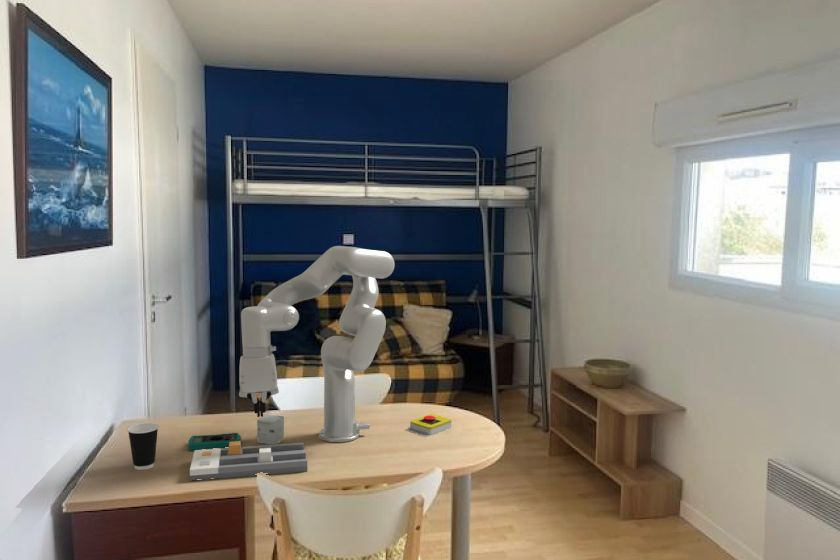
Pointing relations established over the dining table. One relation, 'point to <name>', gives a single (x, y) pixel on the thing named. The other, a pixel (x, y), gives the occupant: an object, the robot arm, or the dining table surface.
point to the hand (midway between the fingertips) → (260, 415)
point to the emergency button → (429, 425)
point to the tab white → (265, 455)
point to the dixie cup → (143, 444)
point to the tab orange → (235, 448)
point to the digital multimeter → (212, 441)
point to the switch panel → (247, 462)
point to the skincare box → (270, 429)
